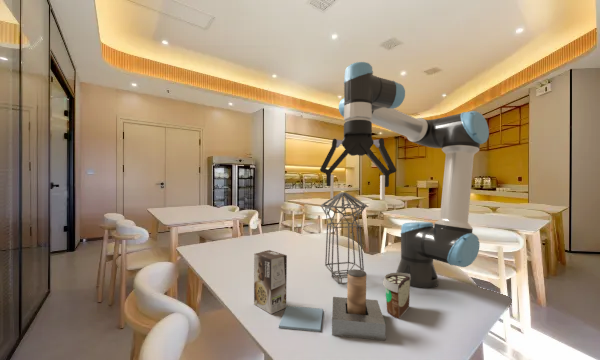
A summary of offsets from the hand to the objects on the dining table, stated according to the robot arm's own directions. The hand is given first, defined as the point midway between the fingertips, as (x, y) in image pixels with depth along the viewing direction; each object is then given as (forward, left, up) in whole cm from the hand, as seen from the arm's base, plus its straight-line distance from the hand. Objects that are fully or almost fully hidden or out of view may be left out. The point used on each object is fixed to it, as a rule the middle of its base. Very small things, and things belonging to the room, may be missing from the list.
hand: (356, 198), depth 71 cm
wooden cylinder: (0, 0, -34) cm, 34 cm away
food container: (-12, -10, -34) cm, 38 cm away
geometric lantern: (+3, -33, -34) cm, 48 cm away
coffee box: (+26, -6, -34) cm, 43 cm away
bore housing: (0, 0, -34) cm, 34 cm away
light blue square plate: (+15, 0, -34) cm, 37 cm away
